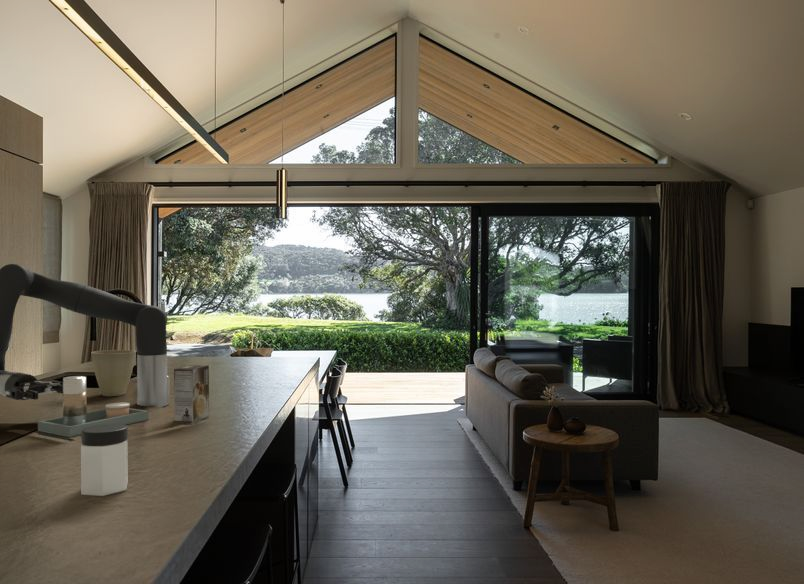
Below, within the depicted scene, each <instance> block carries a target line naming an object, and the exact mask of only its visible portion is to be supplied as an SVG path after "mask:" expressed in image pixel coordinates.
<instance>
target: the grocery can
mask: <svg viewBox="0 0 804 584" xmlns="http://www.w3.org/2000/svg"><path fill="white" fill-rule="evenodd" d="M62 382H63V394H62V417H63V425H67V426H74V425H79V424H84V423H86V414H87V412H88V411H87V394H88V393H87V376H85V375H75V376H74V375H73V376H66V377H63V378H62Z"/></svg>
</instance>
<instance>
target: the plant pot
mask: <svg viewBox="0 0 804 584" xmlns="http://www.w3.org/2000/svg"><path fill="white" fill-rule="evenodd" d="M90 355H91V361H92V366H93V372H94V375H95V378H96V382H97V385H98V389H99V391H100V392H101V394H102V396H103V397H118V396H123V395H125V393H126V391H127V388H128V385H129V383H130V381H131V376H132V373H133V368H134V365H135V360H136V355H137V350H132V349H131V350H130V349H111V350H95V351H92V352H91V354H90Z"/></svg>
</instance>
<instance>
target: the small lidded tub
mask: <svg viewBox="0 0 804 584" xmlns="http://www.w3.org/2000/svg"><path fill="white" fill-rule="evenodd" d="M130 406H131V403H130V402H125V401H124V402H123V401H122V402H112V403H111V402H110V403H107V404H105V409H106V419H109V418H114V417H119V416H124V415H128V414H129V408H130Z"/></svg>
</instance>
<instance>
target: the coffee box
mask: <svg viewBox="0 0 804 584" xmlns="http://www.w3.org/2000/svg"><path fill="white" fill-rule="evenodd" d="M209 367H210V366H209V365H207V364H206V365H205V364H204V365H201V364H200V365H198V364H197V365H196V364H195V365H194V364H191V365H186V366H181V367H177V368H174V369H173V393H174V394H173V397H174V399H173V405H174V408H173V409H174V411H173V412H174V421H175V422H184V423H183V425H190V424H191V425H192V426H193V425H197V424H198V423H201V422H203V421H205V420H208V419H209V417H208V416H210V370H209V369H210V368H209ZM185 422H186V423H185ZM191 425H190V426H191Z"/></svg>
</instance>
